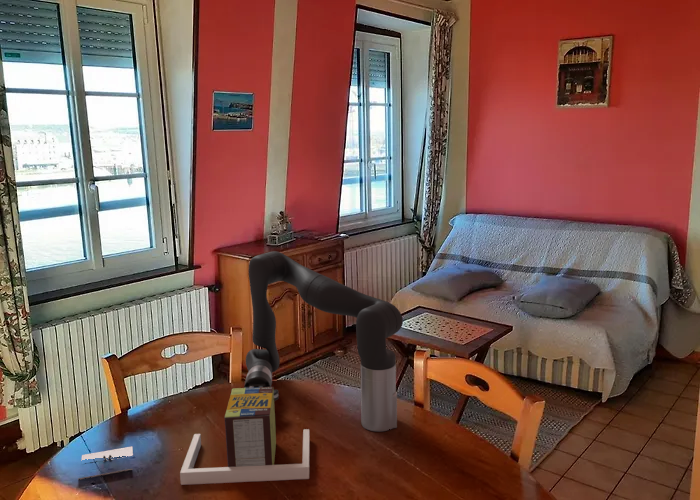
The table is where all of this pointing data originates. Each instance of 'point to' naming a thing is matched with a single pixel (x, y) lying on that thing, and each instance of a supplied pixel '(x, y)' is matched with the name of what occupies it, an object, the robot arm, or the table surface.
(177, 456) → the table surface
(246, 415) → the protein box
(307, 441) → the u-shaped bracket
